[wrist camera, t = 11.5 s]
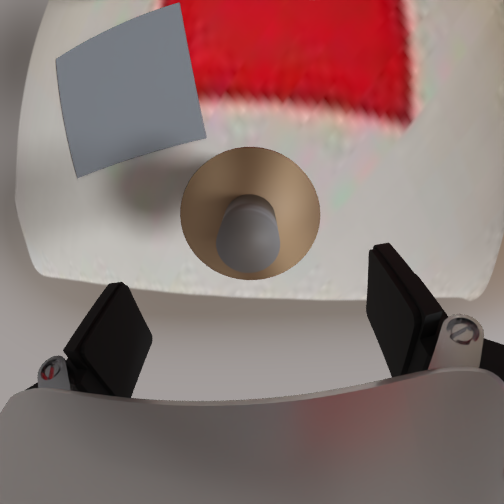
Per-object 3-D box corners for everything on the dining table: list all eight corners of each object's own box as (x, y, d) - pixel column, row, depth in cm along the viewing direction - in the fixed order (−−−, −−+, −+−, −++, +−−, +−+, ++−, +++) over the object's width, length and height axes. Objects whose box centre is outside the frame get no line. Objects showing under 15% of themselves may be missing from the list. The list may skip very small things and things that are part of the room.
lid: (306, 135, 18) (323, 139, 13) (324, 262, 22) (340, 300, 17) (167, 165, 19) (139, 180, 14) (203, 283, 23) (191, 324, 18)
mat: (179, 3, 21) (178, 2, 21) (206, 137, 29) (205, 138, 29) (57, 59, 23) (55, 59, 23) (79, 177, 31) (77, 178, 30)
